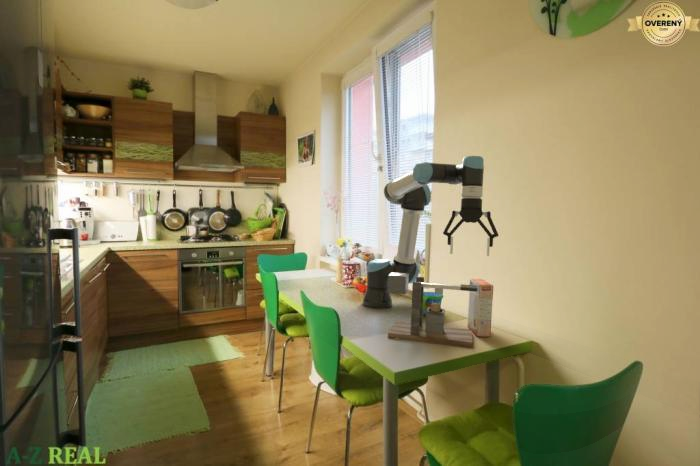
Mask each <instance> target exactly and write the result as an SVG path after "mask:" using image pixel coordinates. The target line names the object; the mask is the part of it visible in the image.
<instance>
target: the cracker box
mask: <svg viewBox="0 0 700 466" xmlns="http://www.w3.org/2000/svg"><path fill="white" fill-rule="evenodd" d="M469 285H476V286H477V292H475V291H468V292H469V293H468V294H469V295H468V308H467V309H468V310H467V313H468V314H467V328H469V329H470V330H472V334H474V335H475V336H476V337H484V338H490V337H491V336H492V333H491V332H492V315H493V299H494V285H493V284H491V283H489V282H487V281H486V280H485V279H481V278H479V279H478V278H470V279H469Z"/></svg>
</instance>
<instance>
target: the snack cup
mask: <svg viewBox="0 0 700 466" xmlns="http://www.w3.org/2000/svg"><path fill="white" fill-rule="evenodd" d="M443 298H444V293H443V294H435V291H424V294H423V316H426V311H427V308H428V307H429V308H430V307H431V305H432V304H433V303H438V304H439V305H440V306H442V300H443Z"/></svg>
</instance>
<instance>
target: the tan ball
mask: <svg viewBox="0 0 700 466" xmlns="http://www.w3.org/2000/svg"><path fill="white" fill-rule="evenodd" d="M441 306H442V305H441ZM441 306H440V305H439V304H438V303H433V304H432V305H431V307H430V309H431V311H433V312H440V310H441V309H442V307H441Z"/></svg>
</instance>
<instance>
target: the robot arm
mask: <svg viewBox="0 0 700 466" xmlns="http://www.w3.org/2000/svg"><path fill="white" fill-rule="evenodd" d="M412 169H413V170H412V171H410V172H409V173H406V174H405V175H402V176H401V177H399V178H394V179H390V181H388V182H387V183H386V184H385V185H384V188H383V194H384V197H385V199H386V200H387V202H389V203H391V204H393V205H400V209H401V210H402V218H401V224H400V225H401V227H400V232H399V237H398V239H399V240H398V246H397V254H396V255H395V256H393V261H391V260H390V259H389V258H377V259H373V260H370V261H369V262H368V263H367V269H366V274H367V275H366V290H365V294H364V295H363V299H362V305H364V306H365V307H369V308H374V309H375V308H376V309H377V308H378V309H384V308H390V307H392V306H393V299H392V295H391V293H387V292H388V275H389V274H390V273H391V272H395V273H409V280H408V284H413V282H416V277H419V274H420V272H419V271H420V269H419V268H420V267H419V264H418V262H417V259H416V258H415V250H416V244H417V237H418V230H419V226H420V225H419V224H420V218H421V213H422V212H424V211H425V207H427V206H429V205H430V203H431V200H432V196H431V195H432V194H431V190H430V187H429V184H432V183H434V184H435V183H436V184H449V185H458V184H459V185H460V184H461V197H462V198H461V199H460V201H461V202H460V211H458V210H457V211H456V210H453V211H452V212H451V217H450V218H449V221H448V222H447V225H446V226H445V228H444V230H443V232H442V234H443V235H444V236H446V237H447V245H448V246H450V249H449V251H450V253H449V254H450V255H453V249H454V247H453V246H454V245H453V244H454V236H452V235H453V234H454V233H455V232H456V231H457V230H458V229H459V227H461V225H462V224H463V223H464V222H465V223H468V224H469V223H471V224H472V223H473V224H474V223H477V224H479V226H480V227H481V228H482V229H483V231H484V232H485V233H486V235H487V236H488V237H487V239H486V240H487V241H486V256H487V257H489V256H490V248H493V245H494V238H497V237H499V233H498V230H497V229H496V225H495V224H494V221H493V219H492V215H491V211H483V209H482V208H483V199H482V197H483V190H484V189H483V188H484V187H483V185H484V169H485V166H484V157H483V156H480V155H466V156H464V157H463V159H462V163H461V164H460V163H459V164H455V163H454V164H452V163H451V164H450V163H439V162H427V161H424V162H417V163H415V165H414V166H413V168H412ZM458 215H459V216H460V217H461V219H460V220H459V221H458V222H457V223H456V224H455V226H454V227H453V228H451V226H452V224H453V222H454V220H455V218H456V217H458ZM483 216H484V217H485V218H486V219H487V221H488V223H489V224H488V225H489V226H490V228H491V230H492V232H491V231H490V230H489V229H488V228H487V226H486V225H485V224H484V223H483V221H482V220H481V218H482V217H483ZM450 228H451V230H450ZM449 230H450V231H449ZM448 231H449V232H448Z"/></svg>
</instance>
